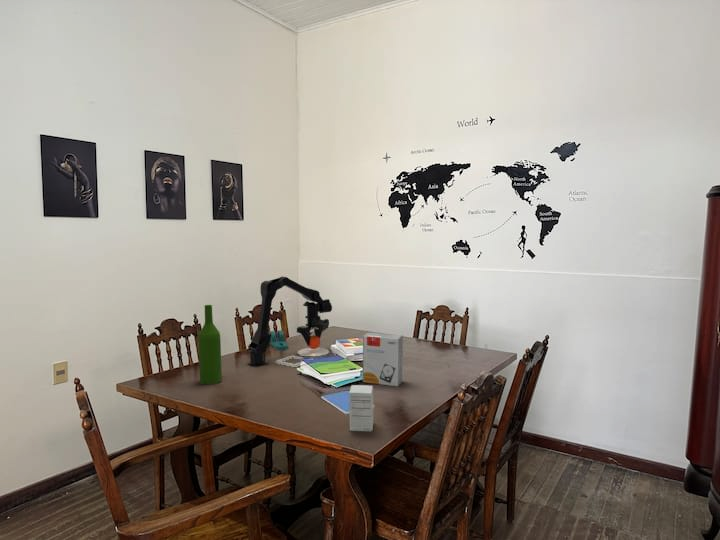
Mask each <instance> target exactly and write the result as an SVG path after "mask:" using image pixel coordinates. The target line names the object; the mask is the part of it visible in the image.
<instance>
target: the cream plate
mask: <svg viewBox="0 0 720 540" xmlns="http://www.w3.org/2000/svg"><path fill="white" fill-rule="evenodd" d="M328 353H329V354H330V351H329V348H328V349H327V348H323V347H318V348H316V349H311V348H309V347H306V348H301V349H299V350H297V355H298V354H299V355H301V356H300V357H302V356H321V355H325V354H328ZM329 354H328V355H329ZM299 355H298V356H299ZM325 356H326V355H325ZM321 357H322V356H321Z"/></svg>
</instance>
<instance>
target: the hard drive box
mask: <svg viewBox="0 0 720 540" xmlns="http://www.w3.org/2000/svg"><path fill="white" fill-rule="evenodd" d="M403 337H404V336H403V335H402V334H390V333H381V332H367V333H365V334H363V336H362V383H367V384H371V385H372V384H376V385H383V386H384V385H386V386H391V387H399V385H400V384H402V382H403V354H404V353H403V352H404V351H403V349H404V348H403V345H404V344H403V343H404V342H403V339H404V338H403Z"/></svg>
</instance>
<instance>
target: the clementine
mask: <svg viewBox="0 0 720 540" xmlns="http://www.w3.org/2000/svg"><path fill="white" fill-rule="evenodd" d="M320 346H321V338H320V339H319V338H318V337H317V336H315V334H314V335H310V345H307V348H311V349H316V348H320Z"/></svg>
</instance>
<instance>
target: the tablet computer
mask: <svg viewBox="0 0 720 540" xmlns="http://www.w3.org/2000/svg"><path fill="white" fill-rule="evenodd" d="M349 392H350V390H343V391H339V392H334V393H329V394H326V395H322V396H321V397H320V399H322V400H323V401H325V402H326V403H328V404H330V405H331V406H333V408H335V409H337V410H339V411H340V412H341V413H343V414H344V415H350V413H349ZM373 409H375V405H374V404H373Z"/></svg>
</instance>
